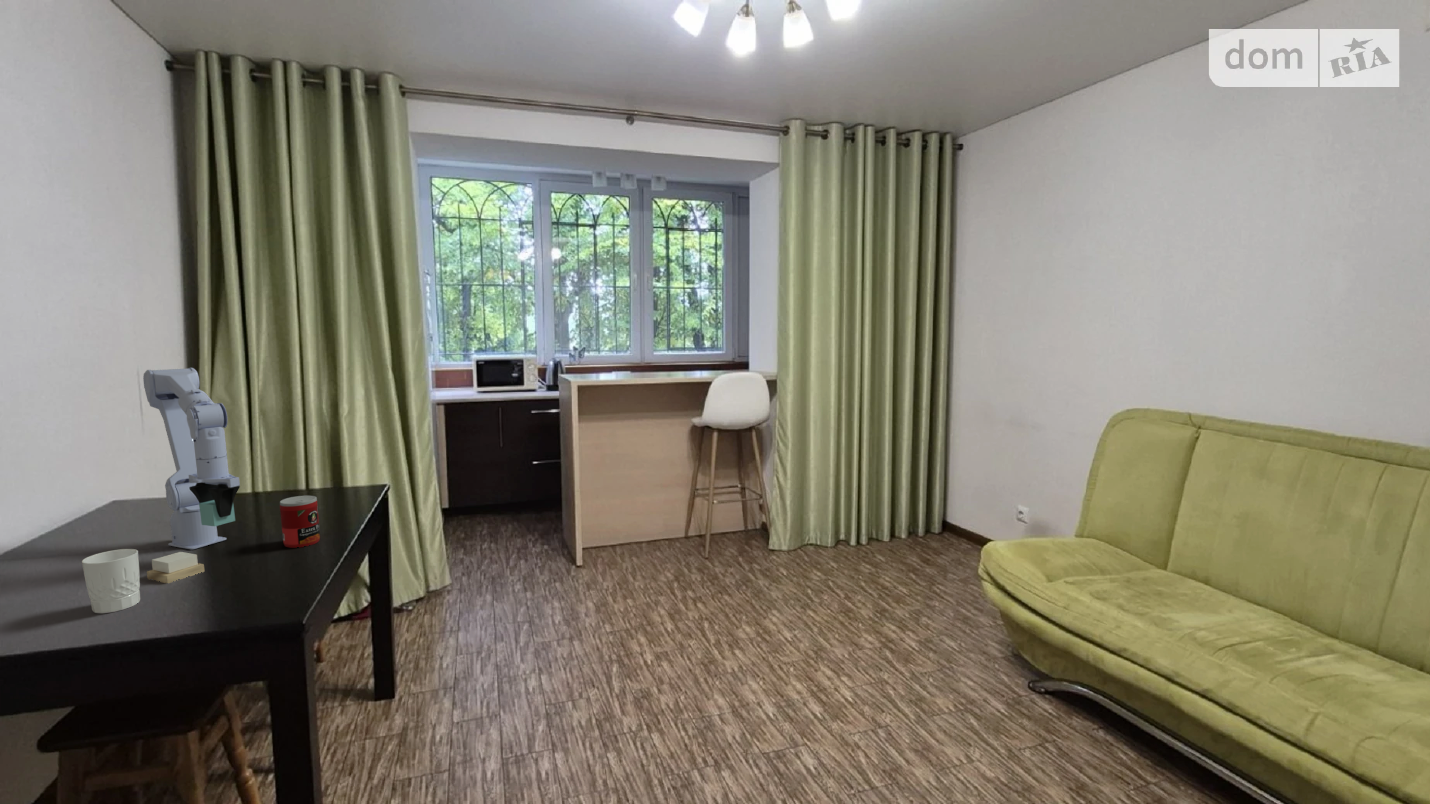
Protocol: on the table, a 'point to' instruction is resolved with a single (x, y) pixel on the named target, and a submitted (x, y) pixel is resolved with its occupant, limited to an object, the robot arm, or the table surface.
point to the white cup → (112, 580)
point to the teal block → (213, 514)
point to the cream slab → (174, 562)
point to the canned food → (300, 521)
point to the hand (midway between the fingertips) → (217, 515)
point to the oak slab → (175, 574)
